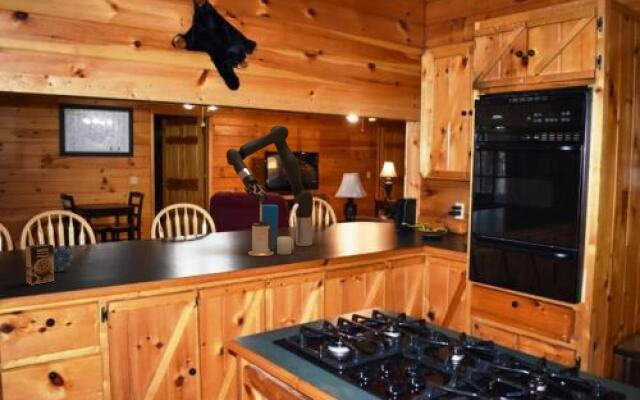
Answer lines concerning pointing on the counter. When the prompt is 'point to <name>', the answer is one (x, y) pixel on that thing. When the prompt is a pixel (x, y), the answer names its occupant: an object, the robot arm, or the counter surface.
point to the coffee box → (39, 264)
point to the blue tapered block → (271, 219)
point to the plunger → (262, 197)
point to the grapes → (61, 258)
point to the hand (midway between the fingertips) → (263, 200)
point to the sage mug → (284, 245)
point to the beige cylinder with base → (262, 240)
